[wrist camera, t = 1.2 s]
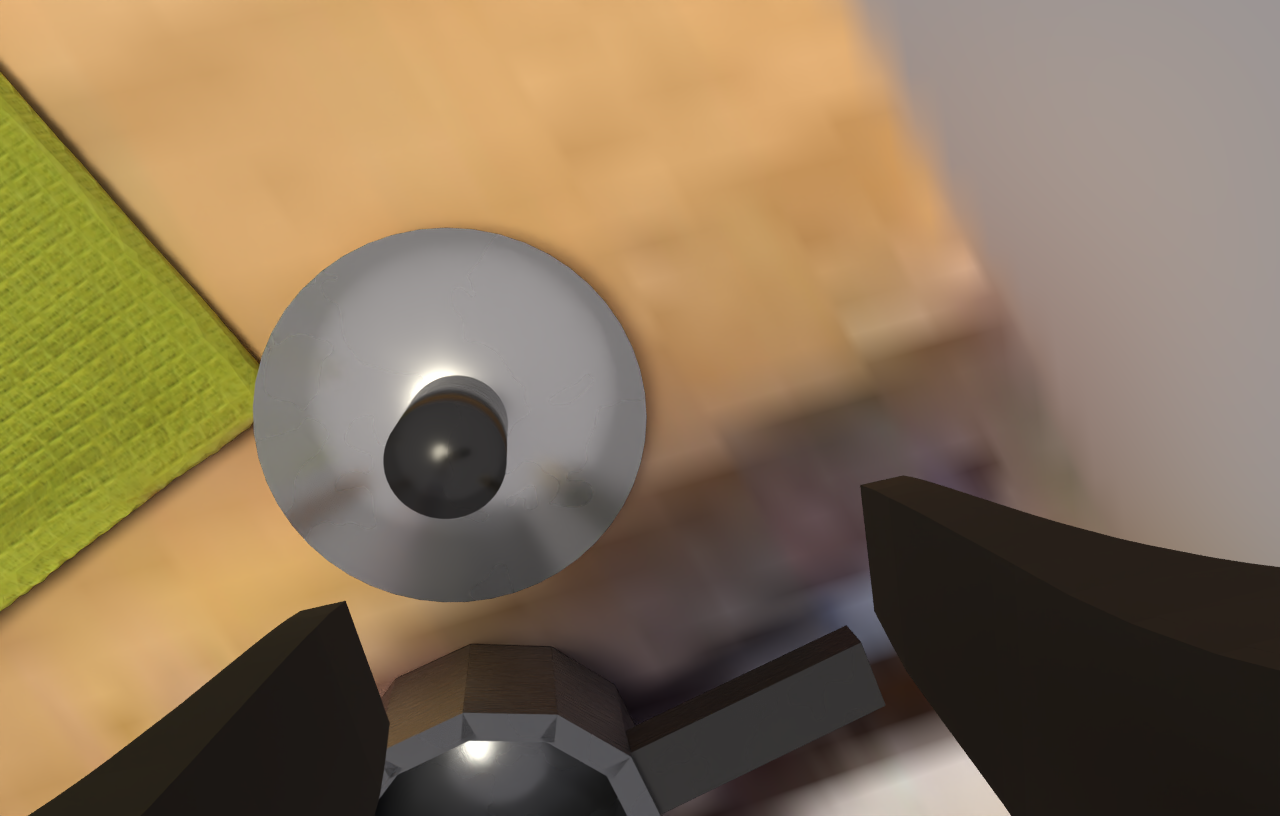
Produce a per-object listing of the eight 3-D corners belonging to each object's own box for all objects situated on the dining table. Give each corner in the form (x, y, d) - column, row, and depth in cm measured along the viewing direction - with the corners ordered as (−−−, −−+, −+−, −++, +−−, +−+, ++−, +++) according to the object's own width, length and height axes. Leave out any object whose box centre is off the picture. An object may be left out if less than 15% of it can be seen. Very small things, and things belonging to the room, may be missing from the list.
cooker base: (372, 974, 25) (349, 1089, 22) (227, 757, 23) (176, 847, 19) (872, 731, 26) (925, 804, 23) (781, 500, 24) (825, 542, 20)
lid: (379, 632, 23) (341, 743, 18) (199, 320, 20) (96, 345, 15) (688, 490, 23) (736, 558, 18) (551, 169, 21) (563, 147, 16)
